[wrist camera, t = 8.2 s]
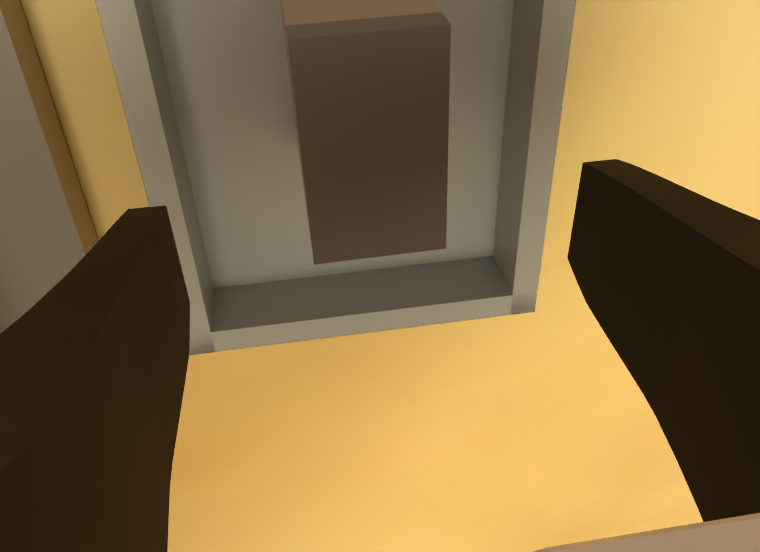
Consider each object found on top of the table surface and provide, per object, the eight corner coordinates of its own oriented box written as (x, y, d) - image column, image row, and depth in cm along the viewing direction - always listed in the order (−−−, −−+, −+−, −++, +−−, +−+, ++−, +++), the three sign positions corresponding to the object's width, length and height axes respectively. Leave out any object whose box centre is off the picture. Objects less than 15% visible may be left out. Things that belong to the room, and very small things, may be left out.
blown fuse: (399, 135, 21) (445, 248, 16) (297, 145, 20) (313, 264, 16) (395, -48, 18) (450, 24, 13) (275, -39, 17) (287, 38, 13)
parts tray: (506, 258, 25) (534, 311, 23) (194, 295, 24) (189, 355, 21) (564, -333, 15) (622, -349, 13) (46, -319, 14) (6, -336, 12)
